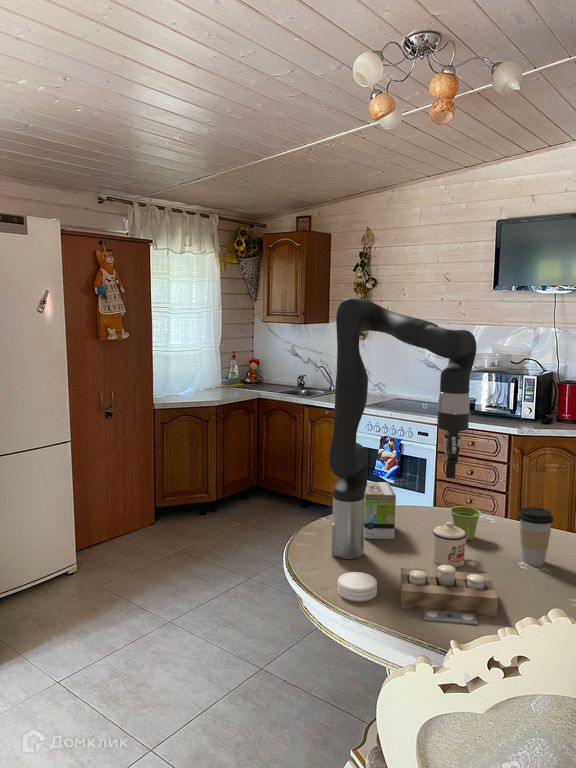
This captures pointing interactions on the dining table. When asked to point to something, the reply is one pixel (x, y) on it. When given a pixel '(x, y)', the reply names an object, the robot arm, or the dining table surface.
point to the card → (450, 617)
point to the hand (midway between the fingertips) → (450, 477)
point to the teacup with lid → (449, 545)
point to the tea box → (379, 511)
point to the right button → (475, 581)
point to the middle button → (446, 575)
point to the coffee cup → (534, 534)
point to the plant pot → (466, 519)
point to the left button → (417, 577)
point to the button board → (448, 594)
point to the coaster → (357, 586)
